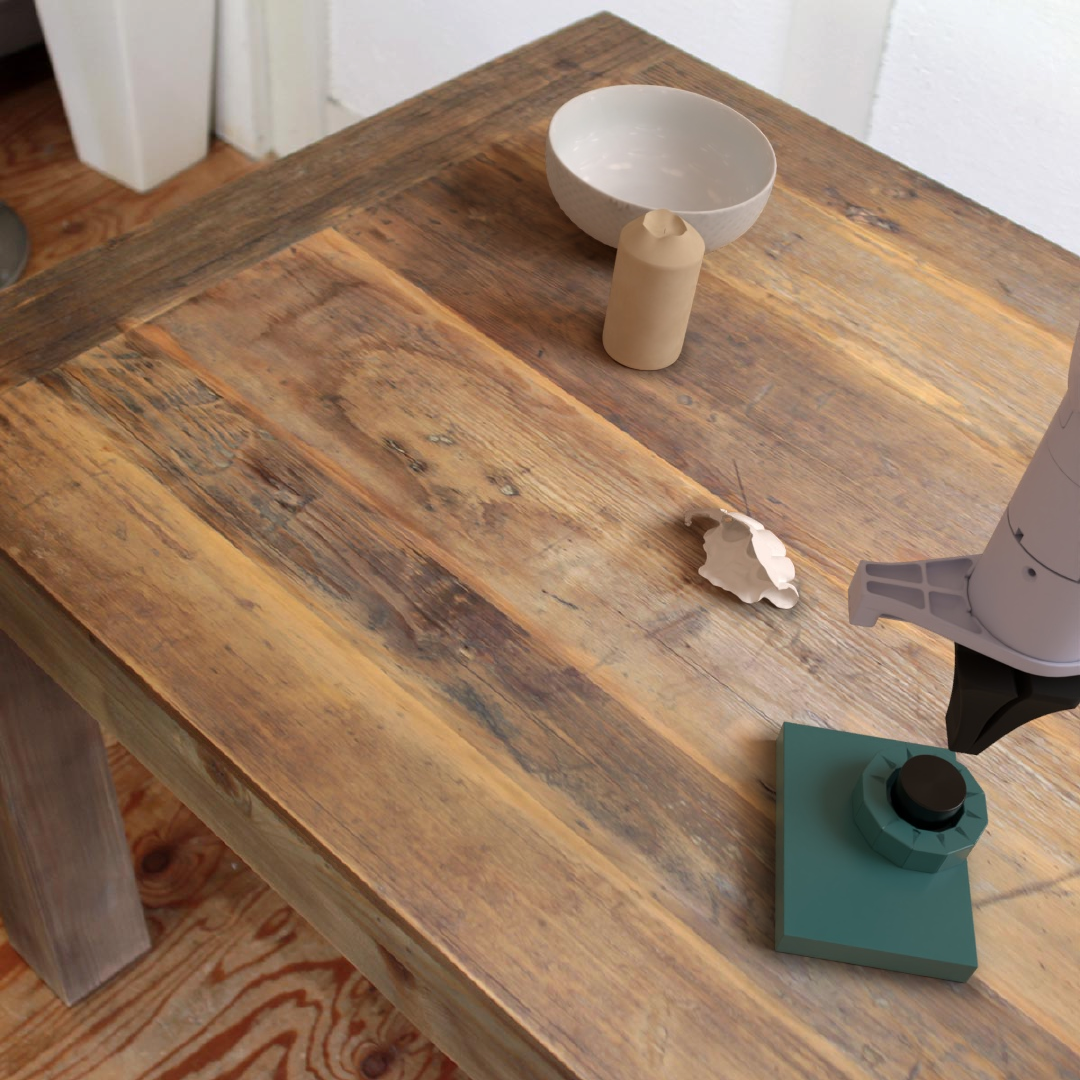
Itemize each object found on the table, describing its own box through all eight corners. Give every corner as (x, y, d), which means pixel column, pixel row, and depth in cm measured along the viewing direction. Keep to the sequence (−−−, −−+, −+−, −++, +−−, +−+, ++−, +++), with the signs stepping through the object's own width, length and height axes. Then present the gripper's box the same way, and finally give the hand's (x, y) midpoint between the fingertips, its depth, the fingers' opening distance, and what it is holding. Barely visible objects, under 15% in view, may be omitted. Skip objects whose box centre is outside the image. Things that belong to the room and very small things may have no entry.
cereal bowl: (491, 214, 100) (498, 130, 95) (630, 141, 110) (644, 60, 104) (666, 323, 94) (684, 238, 88) (798, 235, 103) (822, 154, 98)
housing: (977, 985, 62) (1005, 951, 59) (774, 951, 62) (793, 915, 60) (955, 769, 70) (978, 731, 68) (776, 739, 70) (792, 700, 68)
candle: (694, 364, 91) (724, 240, 83) (621, 377, 89) (645, 253, 82) (660, 314, 94) (686, 192, 87) (589, 327, 92) (609, 202, 85)
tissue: (753, 510, 82) (767, 465, 79) (804, 609, 77) (821, 565, 74) (668, 521, 80) (680, 476, 78) (715, 623, 75) (729, 579, 72)
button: (958, 835, 64) (970, 816, 63) (891, 824, 64) (902, 805, 63) (952, 779, 66) (964, 759, 65) (888, 768, 66) (898, 748, 65)
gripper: (1245, 490, 53) (1105, 691, 63) (887, 431, 54) (803, 641, 64) (1291, 624, 49) (1131, 819, 59) (898, 559, 49) (804, 764, 59)
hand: (961, 735), depth 61 cm, fingers closed
